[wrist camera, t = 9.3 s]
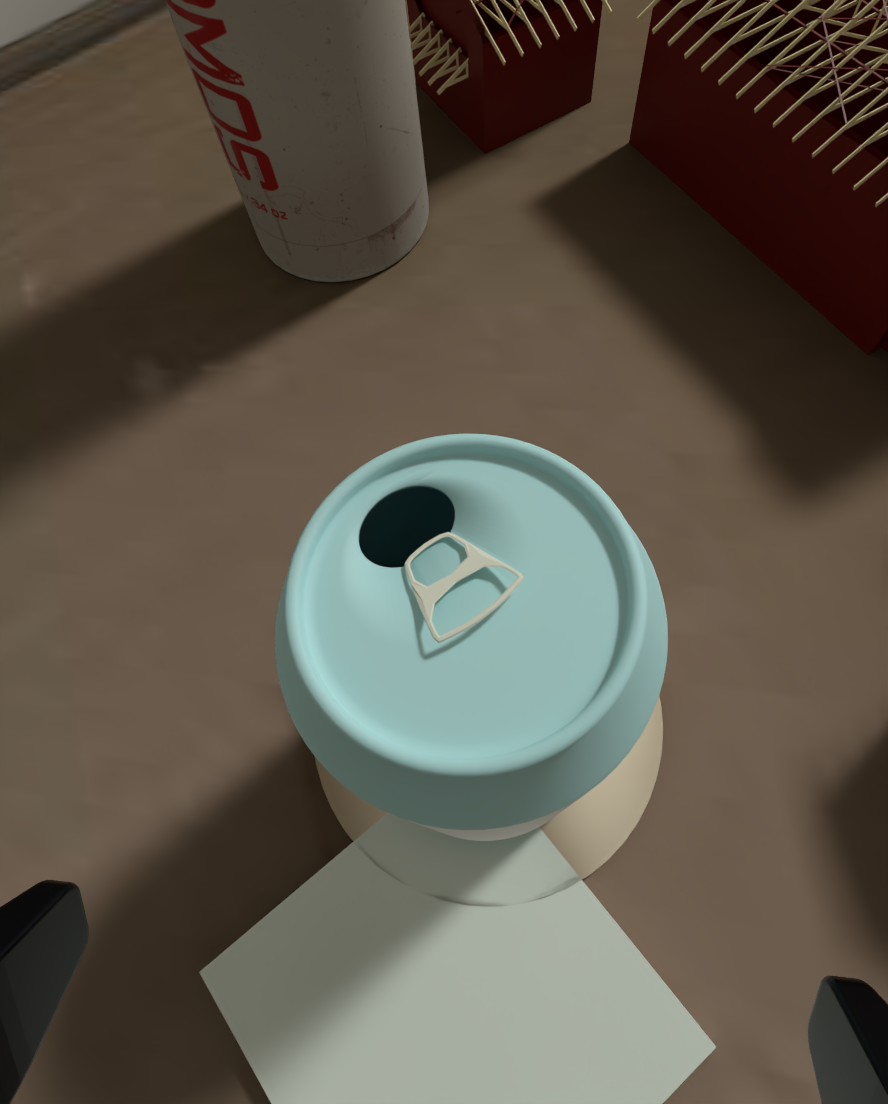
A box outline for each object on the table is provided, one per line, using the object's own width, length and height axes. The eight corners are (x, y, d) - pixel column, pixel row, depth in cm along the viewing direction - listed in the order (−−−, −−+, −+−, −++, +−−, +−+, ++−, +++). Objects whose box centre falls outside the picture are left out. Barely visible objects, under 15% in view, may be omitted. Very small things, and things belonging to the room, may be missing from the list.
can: (341, 803, 21) (169, 747, 10) (408, 592, 24) (327, 368, 13) (570, 872, 20) (652, 893, 9) (615, 641, 23) (721, 440, 12)
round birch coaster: (391, 973, 20) (388, 977, 19) (273, 636, 24) (268, 631, 24) (728, 806, 21) (734, 805, 20) (557, 511, 25) (559, 504, 25)
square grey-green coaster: (416, 1347, 17) (414, 1363, 16) (207, 968, 20) (198, 972, 20) (710, 1041, 19) (716, 1046, 18) (471, 744, 22) (471, 742, 22)
